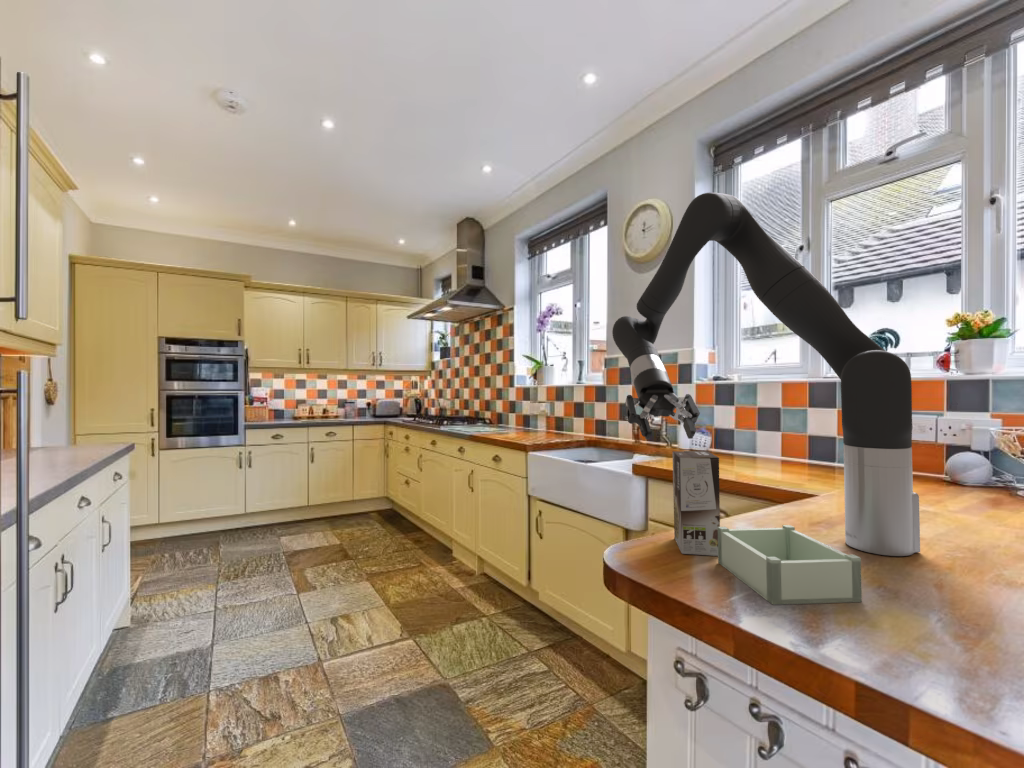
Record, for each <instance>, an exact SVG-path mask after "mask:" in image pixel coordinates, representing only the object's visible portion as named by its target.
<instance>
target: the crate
mask: <svg viewBox="0 0 1024 768" xmlns="http://www.w3.org/2000/svg"><path fill="white" fill-rule="evenodd" d="M795 529H796V528H795V526H793V525H791V524H785V525H784V524H783V525H782V526H781V527H768V528H767V527H766V528H765V527H763V528H762V527H761V528H728V527H726V526H720V527H718V556H717V559H718V560H717V562H718V564H719V565H721V566H722V567H723V568H724V569H726V570H727V571H729V573H731V574H732V575H734V576H735V577H736V578H737V579H739V580H740V581H741V582H743V583H744V584H745V585H746V586H747V587H749V588H750V589H751V590H753V591H754V592H756V593H757V594H758V595H759V596H761V597H762V598H763V599H764V600H766V601H767V602H768V603H769V604H771V605H773V606H774V605H775V606H776V605H801V604H802V605H804V604H806V605H808V604H810V605H811V604H835V603H836V604H837V603H839V604H840V603H862V600H863V598H862V597H863V595H862V594H863V593H862V557H860V556H858V555H856V554H847V553H845V552H843V551H841V550H838V549H836V548H835V547H833V546H830V545H827V544H826V543H825V542H824V543H823V542H822V541H820V540H817V539H815V538H813V537H811V536H809V535H807V534H804V533H803V532H800V531H798V530H795Z"/></svg>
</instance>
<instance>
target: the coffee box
mask: <svg viewBox="0 0 1024 768" xmlns="http://www.w3.org/2000/svg"><path fill="white" fill-rule="evenodd" d="M672 485H673V486H672V487H673V490H672V491H673V494H672V495H673V524H674V525H673V529H674V540H675V543H676V544H677V547H678V549H679V551H680V553H681V554H682V555H694V556H695V555H697V556H698V555H700V556H709V557H711V556H713V557H718V527H721V517H720V516H721V515H720V513H721V512H720V510H721V509H720V505H721V504H720V498H721V497H720V457H719V456H717V455H715V454H713V453H711V452H709V451H708V450H689V451H688V450H685V451H684V450H683V451H676V450H675V451H674V450H673V451H672Z"/></svg>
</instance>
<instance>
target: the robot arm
mask: <svg viewBox="0 0 1024 768" xmlns="http://www.w3.org/2000/svg"><path fill="white" fill-rule="evenodd" d="M711 241H713V242H714V241H715V242H716V243H718V244H719V245H720V246H721V247H723V248H724V249H725V250H727V252H729V254H730V255H732V256H733V257H734V258H735V260H736V261H737V262H738V263H739V265H740V266H741V268H742V269H743V272H744V273H745V276H746V279H747V282H748V284H749V286H750V288H751V290H752V291H753V293H754V295H755V296H756V298H757V299H758V300H759V302H761V303H762V304H763V305H764V306H765V307H766V309H768V310H769V312H771V314H772V315H773V316H774V317H775V318H776V319H778V320H779V322H781V323H782V324H783V325H785V327H787V328H788V329H789V330H790V331H792V332H793V333H794V334H795V335H796V336H798V337H799V339H802V340H803V341H804V342H805V343H807V344H808V345H809V346H811V347H812V348H813V349H815V351H816V352H817V353H818V354H819V355H820V356H821V357H822V358H823V359H824V361H825V362H826V363H827V364H828V365H829V366H830V368H831V369H832V371H833V372H834V373H835V374H836V376H837V377H838V379H839V380H840V400H841V401H840V402H841V403H840V404H841V427H842V439H843V440H842V441H843V442H842V443H843V480H844V481H843V482H844V483H843V487H844V488H843V489H844V531H845V532H844V536H845V537H844V539H845V540H844V541H845V544H846V545H847V546H849V547H851V548H853V549H856V550H858V551H862V552H865V553H870V554H875V555H882V556H891V557H907V556H908V557H909V556H912V555H914V554H915V553H921V529H920V528H921V527H920V526H921V522H920V519H921V518H920V495H919V494H918V493H917V492H914V482H913V481H914V480H913V477H914V475H913V442H912V439H913V396H912V395H913V393H912V391H913V390H912V384H913V383H912V374H911V370H910V367H909V366H908V364H907V363H906V361H904V359H903V358H901V357H900V356H898V355H897V354H894V353H892V352H889V351H887V350H885V349H884V348H883V347H881V345H879V344H878V343H876V341H874V340H873V339H871V337H869V336H868V335H866V334H865V333H864V332H863V331H862V330H861V329H860V328H859V327H858V326H857V325H856V324H855V323H854V322H853V321H852V320H851V318H850V317H849V316H848V315H847V313H846V312H845V311H844V309H843V308H842V306H841V305H840V304H839V303H838V301H837V300H836V299H835V297H834V296H833V295H832V294H831V292H830V291H829V290H828V288H826V286H824V284H823V283H822V282H821V281H820V280H819V279H818V278H817V277H816V276H815V275H814V274H813V273H812V272H811V271H810V270H809V269H808V268H807V267H806V266H805V265H803V264H802V263H801V262H800V261H799V260H797V258H795V257H794V256H793V254H791V253H790V252H789V251H788V250H787V249H786V248H785V247H784V246H782V245H781V244H780V243H779V242H778V241H776V240H775V239H774V238H773V237H772V236H771V235H769V234H768V233H767V232H766V231H765V229H764V228H763V226H761V225H760V223H759V222H758V220H756V218H755V217H754V216H753V215H752V213H751V212H750V210H748V208H747V207H746V205H745V204H744V203H743V201H741V200H740V199H738V197H736V196H735V195H732V194H729V193H720V192H704V193H701V194H699V195H697V196H696V197H694V199H692V200H691V201H690V203H689V204H688V206H687V208H686V210H685V211H684V213H683V215H682V218H681V220H680V222H679V224H678V226H677V229H676V231H675V234H674V235H673V239H672V240H671V242H670V245H669V247H668V249H667V251H666V254H665V255H664V258H663V259H662V262H661V263H660V265H659V267H658V269H657V270H656V273H655V274H654V276H653V277H652V279H651V281H650V282H649V284H648V285H647V286H646V288H645V290H644V291H643V293H642V294H641V296H640V297H639V299H638V300H637V303H636V310H637V311H638V313H639V314H640V316H642V317H644V318H645V320H642V319H639V318H635V317H631V316H627V315H626V316H625V315H624V316H621V317H619V318H618V319H617V320H615V322H614V324H613V327H612V331H611V332H612V339H613V341H614V344H615V346H616V347H617V348H618V349H619V351H620V352H621V353H622V355H623V356H624V358H626V359H627V362H628V366H629V369H630V370H629V371H630V377H631V381H632V384H633V386H634V389H635V391H636V397H633V395H631V394H627V396H626V399H625V403H624V408H625V413H626V418H627V421H628V423H629V424H632V425H633V424H637V425H638V428H639V430H640V435H642V437H643V438H645V440H650V439H651V436H652V434H653V433H652V432H653V431H652V429H651V426H650V423H649V418H650V416H653V417H654V418H658V417H671V418H672V419H673V420H674V421H679V422H680V423H681V424H682V426H683V429H684V432H685V433H686V434H685V435H686V437H687V439H693V438H694V436H695V434H696V432H697V427H696V426H695V424H696V423H697V421H698V419H699V417H700V414H701V412H700V410H699V409H698V407H697V405H696V403H695V401H694V398H693V397H692V395H691V394H689V393H686V394H685V395H684V396H680V397H678V395H676V393H675V392H674V391H675V390H674V387H673V385H672V382H671V380H670V378H669V375H668V371H667V369H666V367H665V365H664V362H662V359H661V357H660V355H659V352H658V350H657V348H656V346H655V345H654V344H655V343H656V340H657V338H658V335H659V331H660V328H661V326H662V323H663V321H664V318H665V316H666V315H667V313H668V312H669V310H670V309H671V307H672V306H673V304H674V303H675V301H676V300H677V299H678V298H679V296H680V294H681V291H682V289H683V287H684V284H685V280H686V277H687V273H688V270H689V269H690V267H691V264H692V263H693V261H694V259H696V257H697V255H698V254H699V253H700V252H701V251H702V249H703V248H704V247H705V246H706V245H707V243H709V242H711ZM637 405H638V406H639V407H640V408H642V411H641V412H640V414H639V413H637V411H636V406H637ZM675 410H676V412H675Z"/></svg>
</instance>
